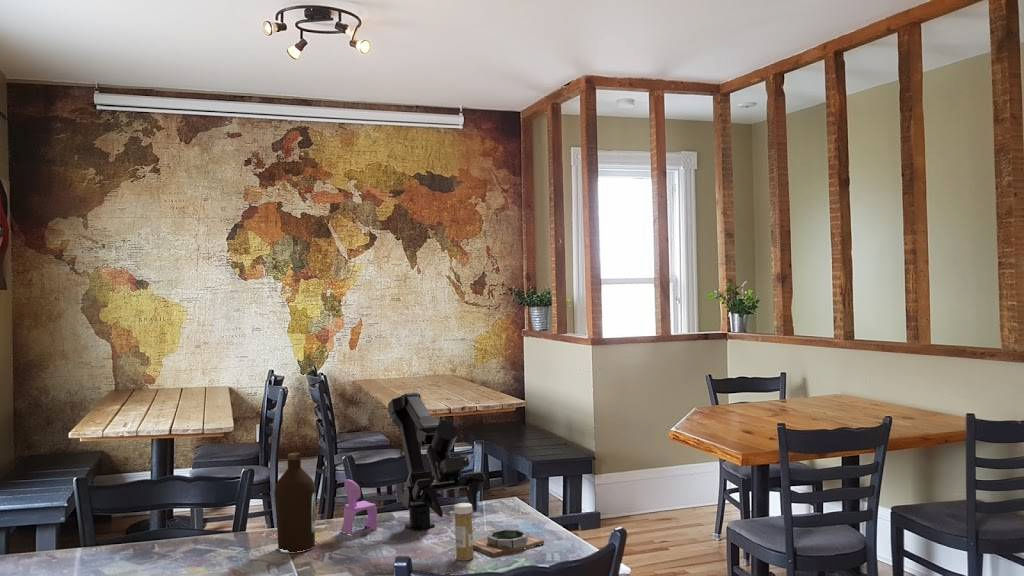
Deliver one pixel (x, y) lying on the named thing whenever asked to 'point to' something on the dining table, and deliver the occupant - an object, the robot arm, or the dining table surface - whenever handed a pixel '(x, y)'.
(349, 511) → the toy chair
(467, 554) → the sprinkles bottle
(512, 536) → the ring
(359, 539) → the dining table surface
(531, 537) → the wooden base board
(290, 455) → the olive oil
